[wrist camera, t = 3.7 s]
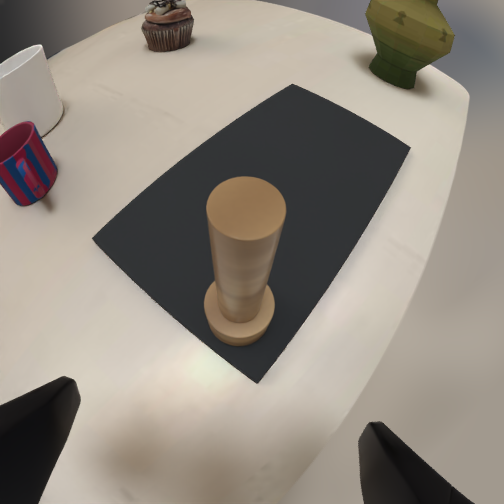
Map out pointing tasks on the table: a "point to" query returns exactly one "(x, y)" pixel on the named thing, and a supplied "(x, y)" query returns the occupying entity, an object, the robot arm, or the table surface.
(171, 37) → the cupcake
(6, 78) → the mug
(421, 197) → the table surface
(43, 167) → the cup
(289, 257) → the mat
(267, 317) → the stick
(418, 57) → the vase
